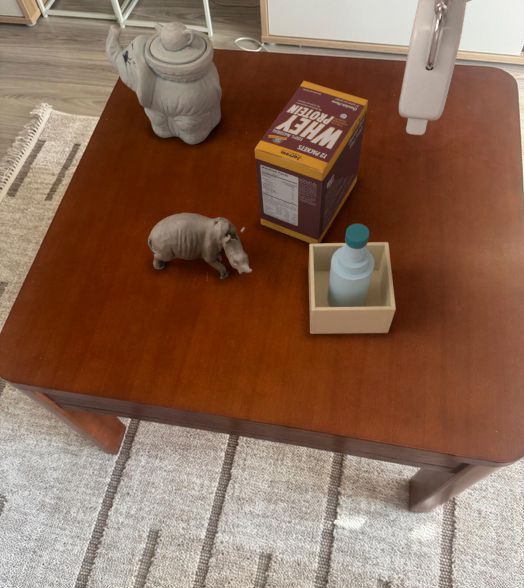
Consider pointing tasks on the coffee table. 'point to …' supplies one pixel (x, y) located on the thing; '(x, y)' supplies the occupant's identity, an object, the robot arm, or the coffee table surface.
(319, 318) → the open box
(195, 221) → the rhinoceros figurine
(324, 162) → the supplement box
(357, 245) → the bottle
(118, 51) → the teapot
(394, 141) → the coffee table surface
